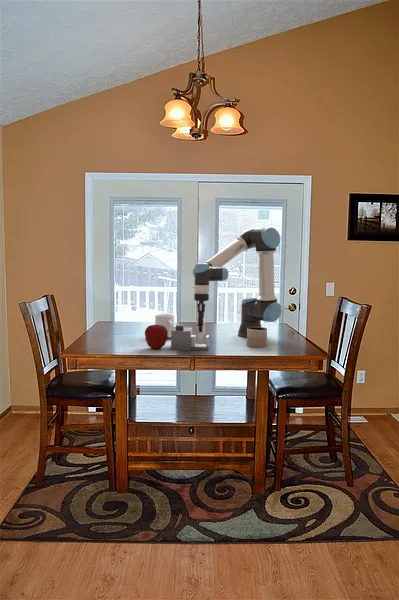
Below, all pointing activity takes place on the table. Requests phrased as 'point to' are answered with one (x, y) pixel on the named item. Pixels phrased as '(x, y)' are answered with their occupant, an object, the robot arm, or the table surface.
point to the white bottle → (203, 328)
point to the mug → (165, 321)
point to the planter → (256, 336)
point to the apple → (156, 336)
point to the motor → (185, 339)
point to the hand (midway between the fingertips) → (200, 337)
